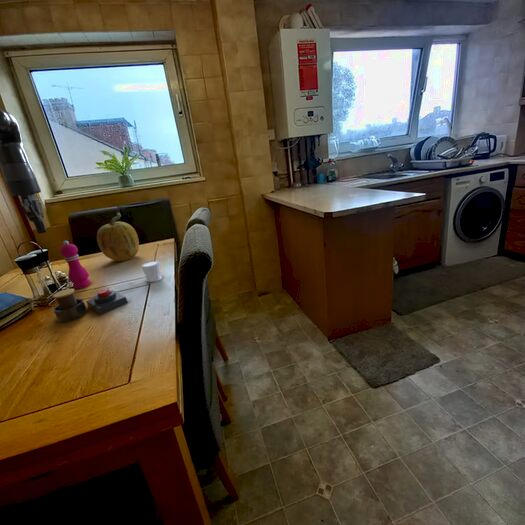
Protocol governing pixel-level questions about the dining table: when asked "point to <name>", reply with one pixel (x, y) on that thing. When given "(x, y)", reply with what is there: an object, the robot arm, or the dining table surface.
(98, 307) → the panel
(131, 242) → the pumpkin
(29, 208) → the robot arm
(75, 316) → the pod holder
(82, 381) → the dining table surface
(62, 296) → the coffee pod
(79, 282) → the pepper mill
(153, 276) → the white short cylinder
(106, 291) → the brew button
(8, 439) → the dining table surface
